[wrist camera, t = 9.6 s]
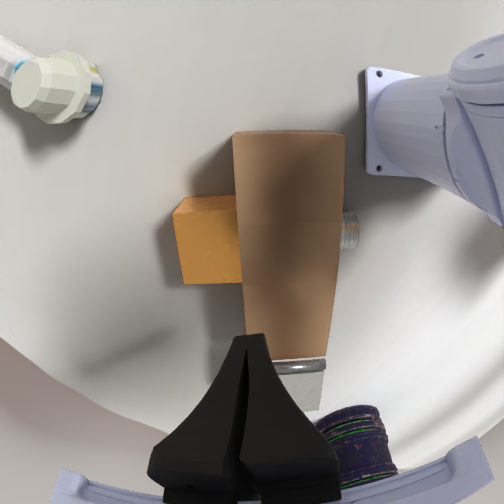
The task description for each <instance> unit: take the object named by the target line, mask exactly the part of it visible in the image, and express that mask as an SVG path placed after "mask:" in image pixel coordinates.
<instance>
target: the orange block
mask: <svg viewBox="0 0 504 504" xmlns="http://www.w3.org/2000/svg"><path fill="white" fill-rule="evenodd" d="M172 216H173V223H174V229H175V235H176V242H177V248H178V253H179V259H180V265H181V270H182V275H183V281H184V284H216V283H242V275H241V262H240V248H239V234H238V220H237V206H236V195H220V196H205V197H191V198H184V200H183V201H182V202H181V203H180V205H179V206H178V207H177V209H176V210H175V211H174V213H173V214H172ZM358 240H359V223H358V219H357V216H356V214H355V213H354V212H343V216H342V230H341V242H340V249H342V248H355V247H356V246H357V244H358Z"/></svg>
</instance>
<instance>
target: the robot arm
mask: <svg viewBox="0 0 504 504" xmlns="http://www.w3.org/2000/svg"><path fill="white" fill-rule="evenodd" d="M377 71H378V72H379V73H380V75H381V76H380V77H378V76H377V75H376V72H377ZM365 87H366V161H365V169H366V171H367V173H369V174H371V175H384V176H403V177H418V178H423V179H425V180H427V181H429V182H431V183H433V184H435V185H437V186H439V187H441V188H443V189H445V190H447V191H449V192H451V193H453V194H455V195H457V196H459V197H461V198H463V199H464V200H466V201H468V202H470V203H472V204H473V205H475V206H477V207H478V208H480V209H482V210H484V211H486V213H487V214H488V216H489V219H490V220H491V221H493V222H494V223H496V224H498V225H499V226H501V227H502V228H504V34H501V35H497V36H494V37H491V38H488V39H486V40H483V41H481V42H479V43H477V44H475V45H473V46H471V47H469V48H467V49H466V50H464V51H463V52H461V53H460V54H459V55H458V56H456V57H455V59H454V60H453V62H452V65H451V69H450V72H449V73H447V74H437V75H429V76H418V75H413V74H409V73H405V72H400V71H395V70H390V69H384V68H378V67H368V68H366V70H365ZM378 165H380V170H379V171H377V170H376V167H377V166H378ZM339 464H340V463H339V459H338V456H337V454H336V452H335V450H334V449H333V447H332V446H331V444H330V443H329V441H328V440H327V438H326V437H325V435H323V434H322V433H321V432H320V431H319V430H318V429H317V428H316V427H315V426H314V425H313V423H312V422H311V421H310V420H309V419H308V418H307V417H306V416H305V414H304V413H303V412H302V411H301V409H300V408H299V407H298V405H297V404H296V403H295V401H294V400H293V399H292V397H291V396H290V394H289V393H288V391H287V390H286V388H285V386H284V385H283V383H282V381H281V379H280V378H279V376H278V374H277V372H276V370H275V368H274V366H273V363H272V361H271V358H270V354H269V350H268V346H267V341H266V337H265V334H263V333H257V334H250V335H243V336H235V338H234V339H233V342H232V344H231V347H230V349H229V352H228V354H227V356H226V359H225V361H224V363H223V365H222V367H221V369H220V371H219V373H218V374H217V376H216V378H215V380H214V381H213V383H212V385H211V386H210V388H209V390H208V391H207V393H206V394H205V396H204V397H203V398H202V400H201V401H200V402H199V404H198V405H197V406H196V407H195V409H194V410H193V411H192V412H191V414H190V415H189V416H188V417H187V418H186V419H185V420H184V421H183V422H182V423H181V424H180V425H179V426H178V427H177V428H176V429H175V430H174V431H173V432H172V433H171V434H170V435H168V436H167V437H166V438H165V439H163V440H162V441H161V442H160V443H158V444H157V445H156V446H154V448H153V451H152V453H151V457H150V460H149V466H148V470H147V475H148V476H149V477H150V478H151V479H152V480H153V481H155V482H156V483H158V484H159V485H161V486H163V487H164V494H163V496H156V495H150V494H145V493H139V492H134V491H129V490H125V489H120V488H116V487H112V486H108V485H104V484H101V483H97V482H94V481H90V480H88V479H87V478H86V477H84V476H82V475H81V474H79V473H76V472H74V471H71V470H67V469H65V468H61V469H60V473H59V475H58V479H57V482H56V485H55V488H54V491H53V494H52V498H51V501H50V504H455V503H457V502H459V501H461V500H463V499H465V498H467V497H468V496H470V495H472V494H473V493H475V492H477V491H478V490H480V489H481V488H483V487H484V486H486V485H487V484H489V483H490V482H492V481H493V480H494V477H493V474H492V471H491V469H490V466H489V463H488V461H487V458H486V456H485V454H484V451H483V449H482V446H481V444H480V441H479V439H478V437H477V436H475V437H473V438H471V439H469V440H467V441H465V442H463V443H461V444H459V445H457V446H455V447H454V448H452V449H451V450H450V451H448V453H447V454H446V456H444V457H442V458H440V459H437V460H435V461H433V462H430V463H428V464H425V465H423V466H420V467H418V468H415V469H413V470H410V471H407V472H405V473H402V474H399V475H396V476H393V477H390V478H386V479H383V480H380V481H376V482H373V483H369V484H366V485H362V486H358V487H354V488H349V489H345V490H341V489H340V483H339V481H340V479H339V472H338V470H339Z"/></svg>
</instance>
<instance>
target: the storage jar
mask: <svg viewBox="0 0 504 504" xmlns="http://www.w3.org/2000/svg"><path fill="white" fill-rule="evenodd" d="M379 416H380V414H379V411H378V409H377V408H376V407H374V406H371V405H356V406H351V407H347V408H343V409H340V410H338V411H335V412H333V413H331V414H329V415H327V416H325V417H324V418H322V419H321V420H320V421H319V422H318V423H317V424H316V426H315V427H316V428H317V429H318V430H319V431H320V432H321V433H322V434H323V435H325V437H326V438H327V440H328V441H329V443H330V444H331V446H332V447H333V449H334V450H335V452H336V454H337V456H338V459H339V463H340V464H339V470H338V472H339V479H340V481H339V483H340V489H341V490H345V489H349V488H354V487H358V486H362V485H366V484H369V483H373V482H376V481H380V480H383V479H386V478H390V477H393V476H396V475H398V473H397V468H396V466H395V464H393V462H392V459H391V455H390V452H389V449H388V445H387V444H388V436H387V435H386V430H385V427H384V424H383V423H382V420H381V418H380V417H379Z"/></svg>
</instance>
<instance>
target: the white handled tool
mask: <svg viewBox="0 0 504 504" xmlns="http://www.w3.org/2000/svg"><path fill="white" fill-rule="evenodd" d="M96 67H97V66H96V65H94V64H92V63H90V62H88V61H86V60H85V58H84V57H82V56H80V55H78V54H76V53H74V52H72V51H68V50H64V51H60V52H56V53H52V54H51V55H49V56H48V57H47V58H42V57H40V58H39V57H37V56H35V55H34V54H32V53H30V52H29V51H27V50H25V49H24V48H22V47H20V46H19V45H17V44H15V43H14V42H12V41H10V40H8V39H7V38H5V37H3V36H1V35H0V84H1V85H2V86H4V87H6V88H7V89H9V90H10V91H11V96H12V100H13V103H14V104H15V105H16V106H18V107H19V108H20V109H22V110H23V111H25V112H31V113H34V114H35V116H37V117H38V118H39V119H40V120H42V121H43V122H44V123H46V124H53V123H67V122H69V121H70V120H71V119H73V118H83V117H85V116H86V115H87V114H89V113H90V112H92V111H93V110H95V108H96V106H97V104H98V102H99V100H100V98H101V96H102V91H103V79H101V78H100V76H99V74H98V72H97V70H96Z"/></svg>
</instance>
